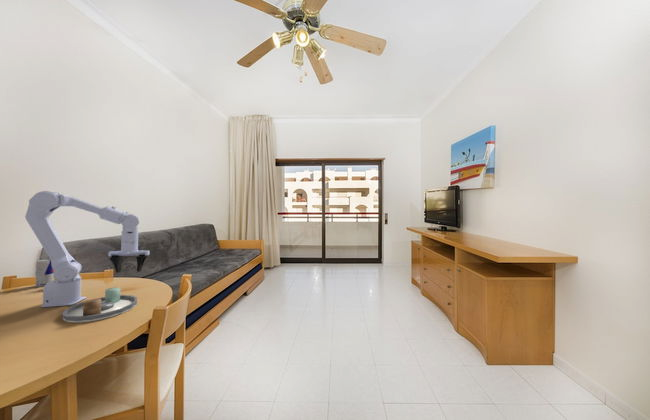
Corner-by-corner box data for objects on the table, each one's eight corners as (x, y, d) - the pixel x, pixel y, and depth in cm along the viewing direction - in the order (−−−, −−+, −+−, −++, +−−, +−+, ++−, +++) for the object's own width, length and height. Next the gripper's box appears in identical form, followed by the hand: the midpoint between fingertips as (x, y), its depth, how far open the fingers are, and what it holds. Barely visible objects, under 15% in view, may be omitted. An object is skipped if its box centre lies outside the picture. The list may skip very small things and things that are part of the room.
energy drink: (56, 283, 111) (57, 259, 111) (42, 287, 106) (42, 261, 106) (47, 283, 112) (47, 258, 112) (32, 286, 107) (32, 261, 107)
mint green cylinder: (102, 304, 88) (102, 291, 88) (109, 300, 92) (109, 287, 92) (116, 303, 89) (116, 290, 89) (122, 299, 93) (122, 287, 93)
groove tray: (45, 325, 73) (45, 320, 73) (88, 301, 92) (88, 297, 92) (120, 318, 79) (120, 313, 79) (146, 297, 97) (146, 293, 97)
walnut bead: (79, 318, 77) (79, 304, 77) (88, 313, 81) (88, 299, 81) (96, 317, 78) (96, 302, 78) (103, 311, 82) (104, 297, 82)
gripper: (104, 243, 96) (103, 275, 96) (144, 242, 101) (144, 273, 101) (114, 240, 103) (113, 270, 103) (151, 240, 107) (151, 269, 107)
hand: (129, 271), depth 102 cm, fingers open, 7 cm apart
